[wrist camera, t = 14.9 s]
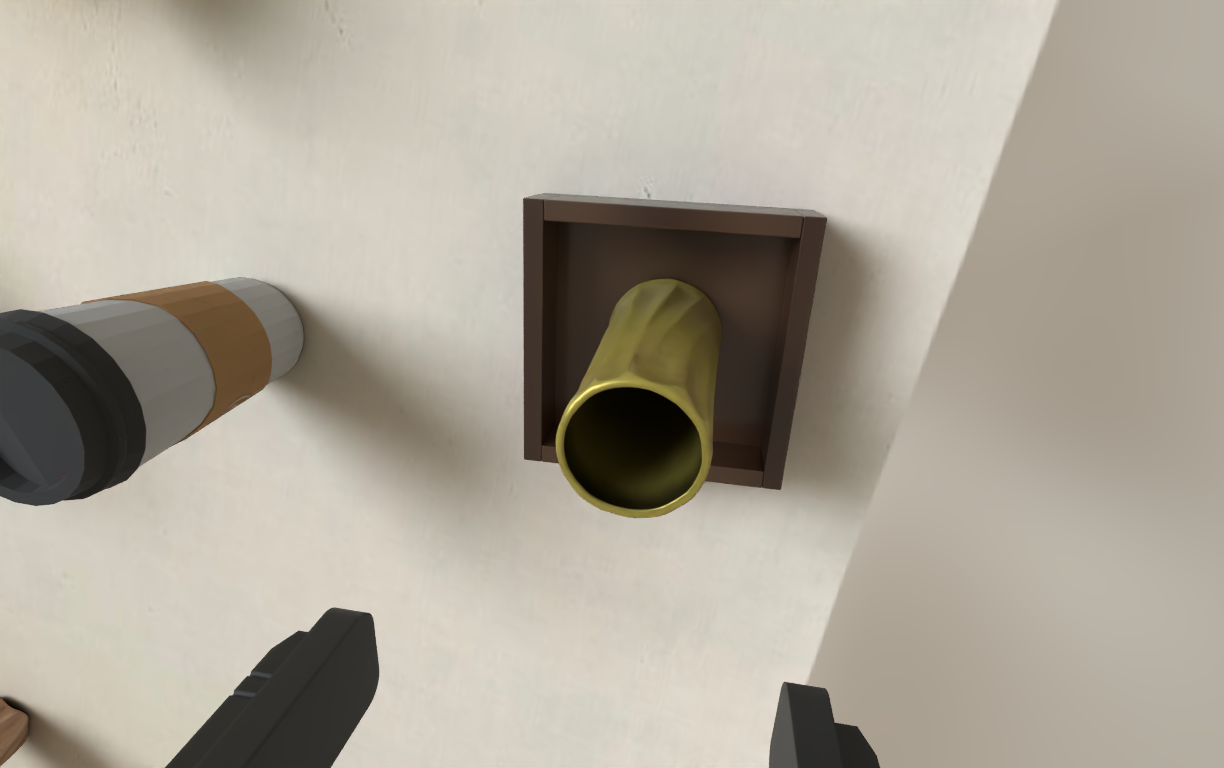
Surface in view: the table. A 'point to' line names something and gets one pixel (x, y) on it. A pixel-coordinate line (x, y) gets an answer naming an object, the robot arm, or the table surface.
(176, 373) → the coffee cup
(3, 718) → the cupcake
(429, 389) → the table surface
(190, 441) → the table surface
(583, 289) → the tray
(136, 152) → the table surface
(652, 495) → the vase
